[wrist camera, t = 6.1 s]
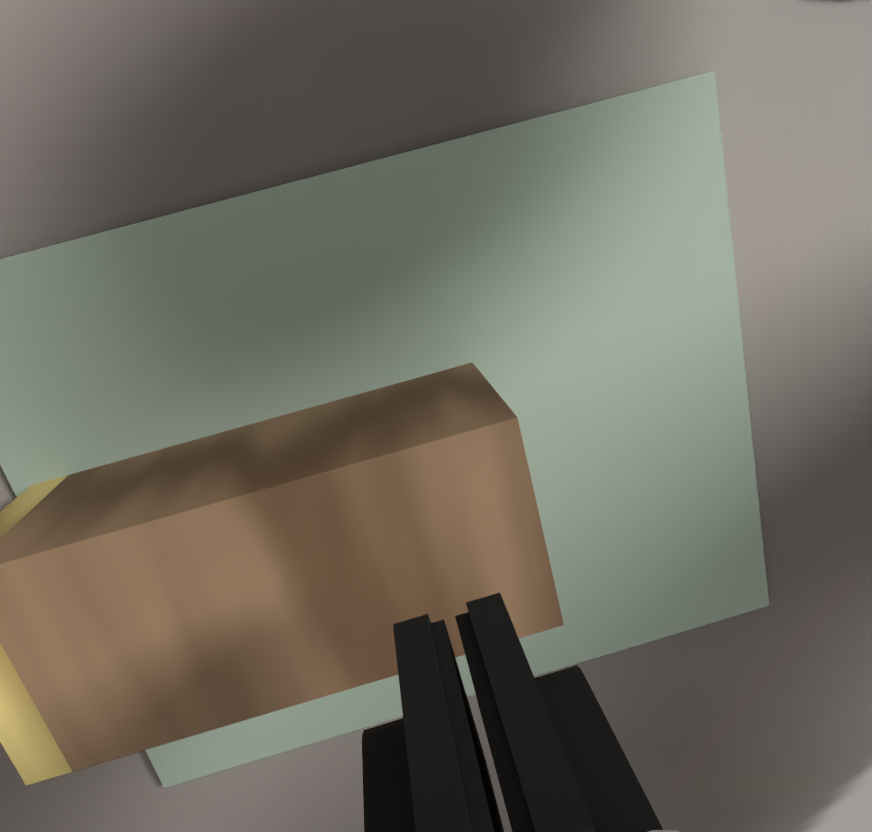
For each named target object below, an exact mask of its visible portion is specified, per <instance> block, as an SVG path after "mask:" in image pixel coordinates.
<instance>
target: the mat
mask: <svg viewBox="0 0 872 832" xmlns="http://www.w3.org/2000/svg"><path fill="white" fill-rule="evenodd" d="M472 362H473V364H474V365H475V366H476V367H477V369H478V370H479V371H480V372H481V373H482V375H483V376H484V377H485V378H486V380H487V381H488V382H489V383H490V384H491V386H492V387H493V388H494V389H495V391H496V392H497V393H498V394H499V395H500V397H501V398H502V399H503V400H504V402H505V403H506V404H507V405H508V406H509V408H510V409H511V410H512V411H513V413H514V414H515V415H516V416H517V417H518V422H519V426H520V431H521V435H522V440H523V444H524V449H525V453H526V458H527V462H528V467H529V471H530V475H531V480H532V484H533V489H534V493H535V498H536V502H537V507H538V511H539V516H540V520H541V525H542V529H543V534H544V538H545V542H546V547H547V551H548V556H549V560H550V565H551V569H552V574H553V578H554V583H555V587H556V592H557V596H558V600H559V605H560V609H561V614H562V618H563V623H564V625H563V626H559V627H556V628H553V629H549V630H546V631H543V632H539V633H536V634H533V635H529V636H526V637H522V638H519V641H520V643H521V646H522V648H523V651H524V653H525V655H526V658H527V660H528V663H529V665H530V668H531V670H532V673H533V675H534V677H535V676H538V675H541V674H545V673H548V672H551V671H555V670H558V669H561V668H565V667H568V666H571V665H575V664H578V663H581V662H584V661H588V660H591V659H594V658H598V657H601V656H604V655H608V654H611V653H614V652H618V651H621V650H624V649H628V648H631V647H634V646H638V645H641V644H644V643H648V642H651V641H654V640H657V639H661V638H664V637H667V636H671V635H674V634H677V633H681V632H684V631H687V630H691V629H694V628H697V627H701V626H704V625H707V624H711V623H714V622H717V621H721V620H724V619H727V618H730V617H734V616H737V615H740V614H744V613H747V612H750V611H754V610H757V609H760V608H764V607H767V606H769V597H768V587H767V577H766V567H765V558H764V548H763V538H762V528H761V518H760V509H759V499H758V489H757V479H756V470H755V460H754V450H753V440H752V430H751V421H750V411H749V401H748V391H747V381H746V372H745V362H744V352H743V342H742V333H741V323H740V313H739V303H738V293H737V284H736V274H735V264H734V254H733V244H732V235H731V225H730V215H729V205H728V196H727V186H726V176H725V166H724V156H723V147H722V137H721V127H720V117H719V107H718V98H717V88H716V78H715V71H712V72H708V73H704V74H700V75H696V76H693V77H689V78H685V79H681V80H677V81H674V82H670V83H666V84H662V85H658V86H655V87H651V88H647V89H643V90H640V91H636V92H632V93H628V94H624V95H621V96H617V97H613V98H609V99H605V100H602V101H598V102H594V103H590V104H586V105H583V106H579V107H575V108H571V109H567V110H564V111H560V112H556V113H552V114H548V115H545V116H541V117H537V118H533V119H529V120H526V121H522V122H518V123H514V124H510V125H507V126H503V127H499V128H495V129H491V130H488V131H484V132H480V133H476V134H473V135H469V136H465V137H461V138H457V139H454V140H450V141H446V142H442V143H438V144H435V145H431V146H427V147H423V148H419V149H416V150H412V151H408V152H404V153H400V154H397V155H393V156H389V157H385V158H381V159H378V160H374V161H370V162H366V163H362V164H359V165H355V166H351V167H347V168H343V169H340V170H336V171H332V172H328V173H325V174H321V175H317V176H313V177H309V178H306V179H302V180H298V181H294V182H290V183H287V184H283V185H279V186H275V187H271V188H268V189H264V190H260V191H256V192H252V193H249V194H245V195H241V196H237V197H233V198H230V199H226V200H222V201H218V202H214V203H211V204H207V205H203V206H199V207H195V208H192V209H188V210H184V211H180V212H176V213H173V214H169V215H165V216H161V217H158V218H154V219H150V220H146V221H142V222H139V223H135V224H131V225H127V226H123V227H120V228H116V229H112V230H108V231H104V232H101V233H97V234H93V235H89V236H85V237H82V238H78V239H74V240H70V241H66V242H63V243H59V244H55V245H51V246H47V247H44V248H40V249H36V250H32V251H28V252H25V253H21V254H17V255H13V256H10V257H6V258H2V259H0V465H1V467H2V469H3V471H4V473H5V475H6V477H7V479H8V481H9V483H10V485H11V487H12V489H13V491H14V493H15V495H16V497H18V496H19V495H20V494H21V493H23V492H24V491H25V490H26V489H27V488H28V487H30V486H31V485H34V484H38V483H41V482H45V481H49V480H52V479H56V478H59V477H63V476H66V475H70V474H74V473H77V472H81V471H84V470H88V469H92V468H95V467H99V466H102V465H106V464H109V463H113V462H117V461H120V460H124V459H127V458H131V457H135V456H138V455H142V454H145V453H149V452H153V451H156V450H160V449H163V448H167V447H170V446H174V445H178V444H181V443H185V442H188V441H192V440H196V439H199V438H203V437H206V436H210V435H213V434H217V433H221V432H224V431H228V430H231V429H235V428H239V427H242V426H246V425H249V424H253V423H257V422H260V421H264V420H267V419H271V418H274V417H278V416H282V415H285V414H289V413H292V412H296V411H300V410H303V409H307V408H310V407H314V406H317V405H321V404H325V403H328V402H332V401H335V400H339V399H343V398H346V397H350V396H353V395H357V394H361V393H364V392H368V391H371V390H375V389H378V388H382V387H386V386H389V385H393V384H396V383H400V382H404V381H407V380H411V379H414V378H418V377H421V376H425V375H429V374H432V373H436V372H439V371H443V370H447V369H450V368H454V367H457V366H461V365H465V364H468V363H472ZM455 658H456V661H457V665H458V668H459V672H460V675H461V678H462V682H463V685H464V689H465V692H466V695H467V697H468V696H472V695H475V694H476V693H475V689H474V685H473V682H472V678H471V674H470V670H469V667H468V663H467V659H466V656H465V655H462V656H459V657H455ZM402 716H403V712H402V703H401V694H400V685H399V676H398V675H395V676H392V677H388V678H385V679H382V680H378V681H375V682H372V683H368V684H365V685H362V686H358V687H355V688H352V689H348V690H345V691H342V692H338V693H335V694H331V695H328V696H325V697H321V698H318V699H315V700H311V701H308V702H305V703H301V704H298V705H295V706H291V707H288V708H285V709H281V710H278V711H274V712H271V713H268V714H264V715H261V716H258V717H254V718H251V719H248V720H244V721H241V722H238V723H234V724H231V725H228V726H224V727H221V728H218V729H214V730H211V731H207V732H204V733H201V734H197V735H194V736H191V737H187V738H184V739H181V740H177V741H174V742H171V743H167V744H164V745H161V746H157V747H154V748H151V749H147V750H145V751H146V753H147V755H148V757H149V759H150V761H151V763H152V765H153V767H154V769H155V771H156V773H157V775H158V777H159V779H160V781H161V783H162V785H163V787H164V788H166V787H170V786H173V785H176V784H180V783H183V782H186V781H190V780H193V779H196V778H199V777H203V776H206V775H209V774H213V773H216V772H219V771H223V770H226V769H229V768H233V767H236V766H239V765H243V764H246V763H249V762H253V761H256V760H259V759H263V758H266V757H269V756H273V755H276V754H279V753H282V752H286V751H289V750H292V749H296V748H299V747H302V746H306V745H309V744H312V743H316V742H319V741H322V740H326V739H329V738H332V737H336V736H339V735H342V734H346V733H349V732H352V731H355V730H359V729H362V728H365V727H369V726H372V725H375V724H379V723H382V722H385V721H389V720H392V719H395V718H399V717H402Z"/></svg>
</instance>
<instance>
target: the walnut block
mask: <svg viewBox="0 0 872 832" xmlns="http://www.w3.org/2000/svg"><path fill="white" fill-rule="evenodd" d="M499 592H500V594H501V596H502V598H503V601H504V603H505V606H506V608H507V611H508V613H509V616H510V618H511V621H512V623H513V626H514V628H515V631H516V633H517V636H518V638H522V637H526V636H529V635H533V634H536V633H539V632H543V631H546V630H549V629H553V628H556V627H559V626H563V625H564V623H563V618H562V614H561V609H560V605H559V600H558V596H557V592H556V587H555V583H554V578H553V574H552V569H551V565H550V560H549V556H548V551H547V547H546V542H545V538H544V534H543V529H542V525H541V520H540V516H539V511H538V507H537V502H536V498H535V493H534V489H533V484H532V480H531V475H530V471H529V467H528V462H527V458H526V453H525V449H524V444H523V440H522V435H521V431H520V426H519V422H518V417H517V416H516V415H515V414H514V413H513V411H512V410H511V409H510V408H509V406H508V405H507V404H506V403H505V402H504V400H503V399H502V398H501V397H500V395H499V394H498V393H497V392H496V391H495V389H494V388H493V387H492V386H491V384H490V383H489V382H488V381H487V380H486V378H485V377H484V376H483V375H482V373H481V372H480V371H479V370H478V369H477V367H476V366H475V365H474V364H473V362H472V363H468V364H465V365H461V366H457V367H454V368H450V369H447V370H443V371H439V372H436V373H432V374H429V375H425V376H421V377H418V378H414V379H411V380H407V381H404V382H400V383H396V384H393V385H389V386H386V387H382V388H378V389H375V390H371V391H368V392H364V393H361V394H357V395H353V396H350V397H346V398H343V399H339V400H335V401H332V402H328V403H325V404H321V405H317V406H314V407H310V408H307V409H303V410H300V411H296V412H292V413H289V414H285V415H282V416H278V417H274V418H271V419H267V420H264V421H260V422H257V423H253V424H249V425H246V426H242V427H239V428H235V429H231V430H228V431H224V432H221V433H217V434H213V435H210V436H206V437H203V438H199V439H196V440H192V441H188V442H185V443H181V444H178V445H174V446H170V447H167V448H163V449H160V450H156V451H153V452H149V453H145V454H142V455H138V456H135V457H131V458H127V459H124V460H120V461H117V462H113V463H109V464H106V465H102V466H99V467H95V468H92V469H88V470H84V471H81V472H77V473H74V474H70V475H66V476H63V477H59V478H56V479H52V480H49V481H45V482H41V483H38V484H34V485H31V486H30V487H28V488H27V489H26V490H25V491H24V492H23V493H21V494H20V495H19V496H18V497H17V498H16V499H14V500H13V501H12V502H11V503H10V504H9V505H7V506H6V507H5V508H4V509H3V510H2V511H0V742H1V744H2V746H3V747H4V749H5V751H6V753H7V754H8V756H9V758H10V759H11V761H12V763H13V764H14V766H15V768H16V769H17V771H18V773H19V774H20V776H21V778H22V779H23V781H24V783H25V784H26V786H27V785H30V784H33V783H37V782H40V781H43V780H47V779H50V778H53V777H57V776H60V775H63V774H67V773H70V772H73V771H77V770H80V769H84V768H87V767H90V766H94V765H97V764H100V763H104V762H107V761H110V760H114V759H117V758H120V757H124V756H127V755H130V754H134V753H137V752H140V751H144V750H147V749H151V748H154V747H157V746H161V745H164V744H167V743H171V742H174V741H177V740H181V739H184V738H187V737H191V736H194V735H197V734H201V733H204V732H207V731H211V730H214V729H218V728H221V727H224V726H228V725H231V724H234V723H238V722H241V721H244V720H248V719H251V718H254V717H258V716H261V715H264V714H268V713H271V712H274V711H278V710H281V709H285V708H288V707H291V706H295V705H298V704H301V703H305V702H308V701H311V700H315V699H318V698H321V697H325V696H328V695H331V694H335V693H338V692H342V691H345V690H348V689H352V688H355V687H358V686H362V685H365V684H368V683H372V682H375V681H378V680H382V679H385V678H388V677H392V676H395V675H398V667H397V658H396V648H395V639H394V630H393V625H394V624H395V623H399V622H402V621H405V620H409V619H412V618H415V617H419V616H422V615H425V614H428V615H429V618H430V621H431V623H433V622H437V621H440V620H443V619H444V621H445V624H446V627H447V631H448V634H449V638H450V641H451V644H452V648H453V651H454V655H455V657H459V656H462V655H465V652H464V648H463V644H462V641H461V637H460V633H459V629H458V626H457V622H456V618H455V616H457V615H460V614H464V613H467V612H468V609H467V605H466V602H469V601H473V600H476V599H479V598H483V597H486V596H489V595H493V594H496V593H499Z"/></svg>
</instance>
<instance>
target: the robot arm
mask: <svg viewBox="0 0 872 832" xmlns="http://www.w3.org/2000/svg"><path fill="white" fill-rule="evenodd" d="M466 605H467V609H468V612H467V613H464V614H460V615H457V616H455V618H456V622H457V626H458V629H459V633H460V637H461V641H462V644H463V648H464V652H465V656H466V659H467V663H468V667H469V670H470V674H471V678H472V682H473V685H474V689H475V693H476V697H477V700H478V704H479V708H480V712H481V715H482V719H483V723H484V727H485V730H486V734H487V738H488V742H489V745H490V749H491V753H492V757H493V760H494V764H495V768H496V772H497V775H498V779H499V783H500V787H501V790H502V794H503V798H504V802H505V805H506V809H507V813H508V817H509V820H510V824H511V828H512V831H513V832H680V831H677V830H663V828H662V826H661V825H660V823H659V821H658V819H657V817H656V815H655V813H654V811H653V809H652V807H651V805H650V803H649V801H648V799H647V797H646V795H645V793H644V791H643V789H642V787H641V785H640V783H639V782H638V780H637V778H636V776H635V774H634V772H633V770H632V768H631V766H630V764H629V762H628V760H627V758H626V756H625V754H624V752H623V750H622V748H621V746H620V744H619V742H618V741H617V739H616V737H615V735H614V733H613V731H612V729H611V727H610V725H609V723H608V721H607V719H606V717H605V715H604V713H603V711H602V709H601V707H600V705H599V703H598V701H597V699H596V698H595V696H594V694H593V692H592V690H591V688H590V686H589V684H588V682H587V680H586V678H585V676H584V674H583V673H582V671H581V669H580V668H579V667H578V666H574V667H570V668H567V669H564V670H561V671H557V672H554V673H551V674H547V675H544V676H541V677H538V678H534V675H533V673H532V670H531V668H530V665H529V663H528V660H527V658H526V655H525V653H524V651H523V648H522V646H521V643H520V641H519V638H518V636H517V633H516V631H515V628H514V626H513V623H512V621H511V618H510V616H509V613H508V611H507V608H506V606H505V603H504V601H503V598H502V596H501V594H500V592H499V593H496V594H493V595H489V596H486V597H483V598H479V599H476V600H473V601H469V602H466ZM393 630H394V639H395V648H396V658H397V667H398V676H399V685H400V694H401V703H402V712H403V719H400V720H396V721H393V722H390V723H386V724H383V725H380V726H377V727H373V728H370V729H367V730H364V732H363V735H362V758H363V793H364V829H365V832H504V830H503V826H502V822H501V818H500V814H499V810H498V806H497V802H496V799H495V795H494V791H493V787H492V783H491V779H490V775H489V771H488V768H487V764H486V760H485V757H484V753H483V750H482V746H481V743H480V740H479V736H478V733H477V729H476V726H475V723H474V719H473V716H472V712H471V709H470V706H469V702H468V699H467V695H466V692H465V689H464V685H463V682H462V678H461V675H460V672H459V668H458V665H457V661H456V658H455V655H454V651H453V648H452V644H451V641H450V638H449V634H448V631H447V627H446V624H445V621H444V619H443V620H440V621H437V622H433V623H431V621H430V618H429V615H428V614H425V615H422V616H419V617H415V618H412V619H409V620H405V621H402V622H399V623H395V624H394V625H393Z"/></svg>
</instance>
